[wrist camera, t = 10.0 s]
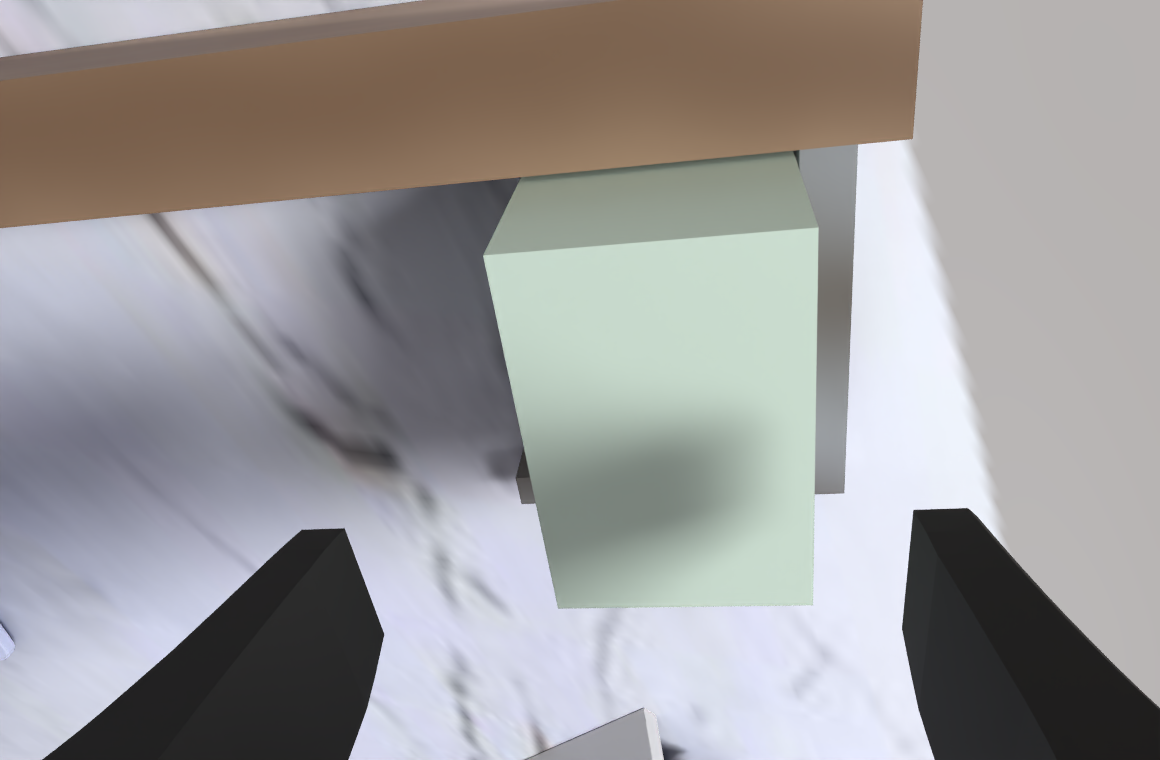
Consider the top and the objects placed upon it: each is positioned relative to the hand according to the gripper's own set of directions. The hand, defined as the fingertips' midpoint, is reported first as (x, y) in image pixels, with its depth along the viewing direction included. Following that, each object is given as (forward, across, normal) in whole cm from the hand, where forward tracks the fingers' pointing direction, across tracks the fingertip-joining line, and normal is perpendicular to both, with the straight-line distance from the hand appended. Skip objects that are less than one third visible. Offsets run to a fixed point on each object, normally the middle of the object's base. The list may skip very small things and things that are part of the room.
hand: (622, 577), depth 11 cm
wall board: (+9, +4, 0) cm, 10 cm away
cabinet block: (+9, 0, 0) cm, 9 cm away
